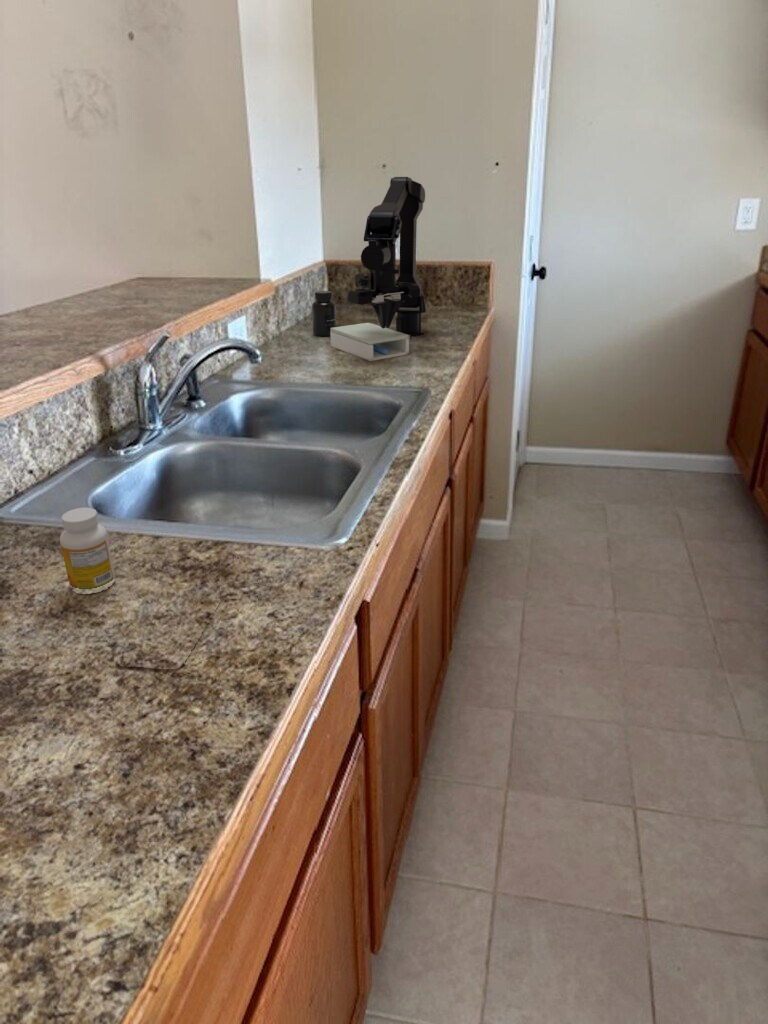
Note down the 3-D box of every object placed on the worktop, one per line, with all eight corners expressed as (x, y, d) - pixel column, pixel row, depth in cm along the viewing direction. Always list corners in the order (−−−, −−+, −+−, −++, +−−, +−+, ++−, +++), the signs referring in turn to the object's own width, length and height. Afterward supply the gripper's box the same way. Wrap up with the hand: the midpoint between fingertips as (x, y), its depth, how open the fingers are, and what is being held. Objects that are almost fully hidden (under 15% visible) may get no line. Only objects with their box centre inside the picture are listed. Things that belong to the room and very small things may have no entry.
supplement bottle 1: (77, 575, 98) (62, 505, 93) (120, 572, 98) (107, 503, 94) (65, 597, 93) (48, 525, 89) (110, 594, 93) (96, 523, 89)
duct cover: (369, 325, 213) (369, 322, 212) (409, 338, 198) (409, 334, 197) (330, 330, 207) (330, 327, 206) (369, 344, 192) (369, 341, 191)
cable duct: (368, 340, 214) (367, 325, 213) (409, 354, 199) (409, 338, 197) (330, 346, 208) (330, 331, 207) (370, 361, 193) (369, 345, 192)
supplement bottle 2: (333, 337, 218) (331, 294, 213) (310, 336, 220) (307, 293, 214) (339, 332, 224) (337, 290, 219) (316, 331, 226) (314, 289, 221)
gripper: (397, 258, 200) (397, 318, 207) (335, 264, 191) (338, 327, 198) (422, 262, 192) (421, 325, 199) (358, 269, 183) (360, 334, 190)
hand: (385, 327), depth 196 cm, fingers closed
